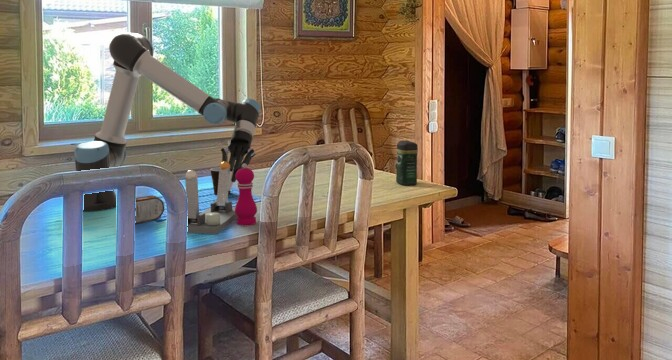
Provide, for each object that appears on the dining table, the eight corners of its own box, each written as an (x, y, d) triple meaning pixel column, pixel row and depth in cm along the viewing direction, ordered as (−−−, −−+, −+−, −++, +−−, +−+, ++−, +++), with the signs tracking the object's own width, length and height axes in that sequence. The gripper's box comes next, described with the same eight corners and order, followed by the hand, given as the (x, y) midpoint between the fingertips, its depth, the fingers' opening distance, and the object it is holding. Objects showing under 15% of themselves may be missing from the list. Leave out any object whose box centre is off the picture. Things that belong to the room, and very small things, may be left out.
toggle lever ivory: (186, 224, 191) (183, 170, 188) (190, 221, 195) (187, 168, 191) (196, 224, 191) (193, 171, 187) (201, 221, 194) (198, 169, 191)
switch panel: (180, 232, 190) (179, 216, 189) (211, 211, 215) (211, 197, 214) (216, 234, 188) (216, 218, 187) (244, 213, 213) (243, 199, 212)
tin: (161, 216, 209) (160, 193, 207) (166, 218, 207) (164, 194, 205) (119, 225, 199) (117, 200, 197) (123, 227, 197) (121, 201, 195)
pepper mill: (238, 219, 204) (236, 161, 200) (259, 220, 204) (257, 161, 200) (232, 225, 197) (230, 165, 193) (254, 226, 197) (252, 165, 193)
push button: (203, 225, 190) (203, 215, 189) (209, 221, 194) (208, 212, 193) (217, 225, 189) (216, 216, 188) (222, 222, 193) (221, 212, 193)
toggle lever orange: (214, 209, 206) (218, 160, 209) (218, 210, 210) (222, 162, 212) (224, 210, 206) (228, 160, 208) (228, 211, 209) (232, 162, 212)
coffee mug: (228, 196, 239) (227, 171, 237) (208, 195, 241) (206, 170, 239) (239, 190, 250) (238, 166, 248) (219, 189, 252) (218, 165, 250)
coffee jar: (419, 185, 257) (420, 141, 254) (402, 186, 255) (403, 142, 252) (410, 180, 267) (411, 139, 263) (393, 182, 264) (394, 139, 261)
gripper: (262, 142, 227) (248, 195, 214) (229, 141, 230) (213, 193, 217) (256, 129, 221) (242, 183, 208) (223, 128, 223) (206, 182, 211)
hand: (227, 188), depth 213 cm, fingers closed
